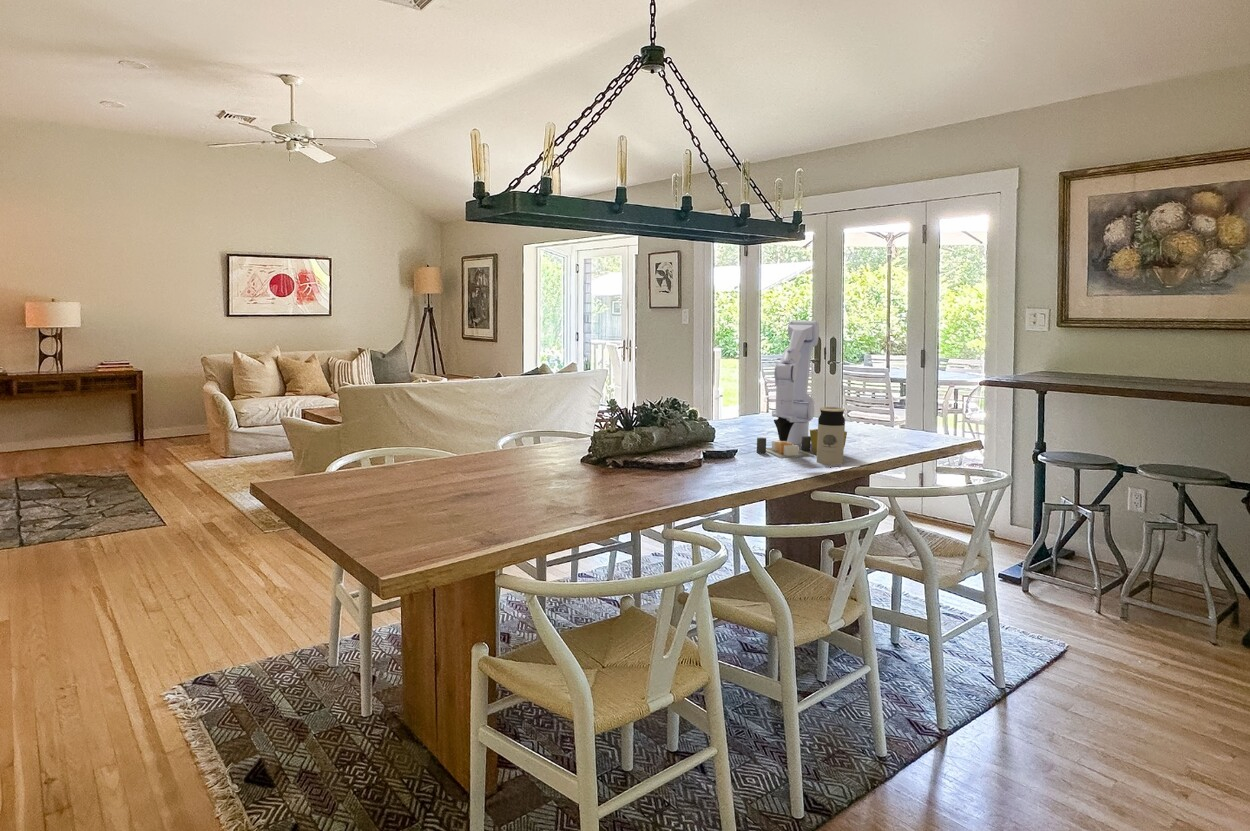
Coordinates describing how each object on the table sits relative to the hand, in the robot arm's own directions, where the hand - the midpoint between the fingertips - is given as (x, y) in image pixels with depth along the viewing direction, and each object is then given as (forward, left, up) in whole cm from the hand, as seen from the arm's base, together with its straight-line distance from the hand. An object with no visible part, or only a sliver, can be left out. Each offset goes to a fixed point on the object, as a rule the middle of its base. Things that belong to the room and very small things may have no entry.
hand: (783, 440), depth 263 cm
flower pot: (+7, +13, -5) cm, 15 cm away
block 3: (+6, 0, -3) cm, 7 cm away
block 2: (+1, 0, -3) cm, 4 cm away
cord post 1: (0, -8, -5) cm, 9 cm away
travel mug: (+19, +7, -5) cm, 21 cm away
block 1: (-3, 0, -3) cm, 5 cm away
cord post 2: (0, +8, -5) cm, 9 cm away
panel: (+1, 0, -5) cm, 5 cm away
